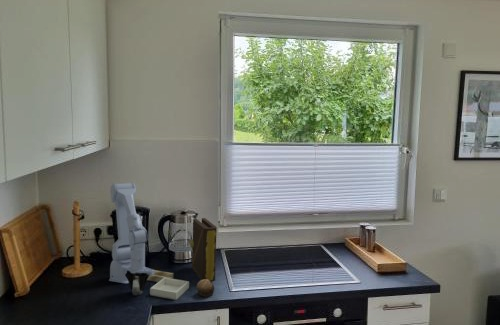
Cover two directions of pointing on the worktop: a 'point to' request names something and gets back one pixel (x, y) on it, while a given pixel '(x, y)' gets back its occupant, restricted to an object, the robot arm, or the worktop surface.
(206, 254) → the book
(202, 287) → the mushroom
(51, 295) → the worktop surface
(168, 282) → the dish
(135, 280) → the cylinder
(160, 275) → the trough
